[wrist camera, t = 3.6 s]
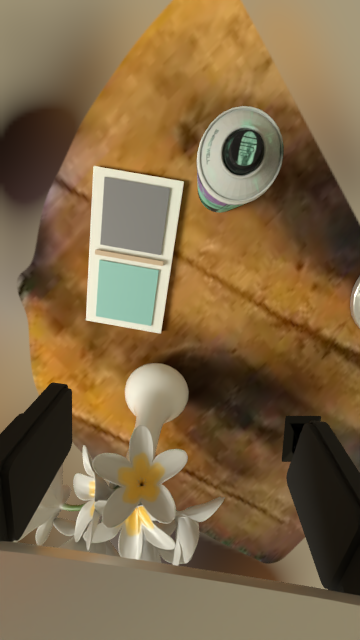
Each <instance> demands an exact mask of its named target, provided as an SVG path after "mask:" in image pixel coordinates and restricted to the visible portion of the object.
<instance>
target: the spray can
mask: <svg viewBox="0 0 360 640" xmlns="http://www.w3.org/2000/svg"><path fill="white" fill-rule="evenodd" d="M282 160H283V140H282V136H281V133H280V130H279V128H278V126H277V125H276V123H275V122H274V120H273V119H272V118H271V117H270V116H269V115H268V114H266V113H265V112H263V111H262V110H260V109H257V108H254V107H247V106H241V107H235V108H232V109H229V110H227V111H225V112H224V113H222V114H220V115H219V116H218V117H217V118H216V119H215V120H214V121H213V122H212V123H211V124H210V125H209V127H208V128H207V130H206V131H205V133H204V135H203V137H202V139H201V141H200V145H199V148H198V154H197V178H198V194H199V198H200V200H201V202H202V203H203V205H204V206H205V207H206V208H207V209H209V210H211V211H214V212H226V211H228V210H231V209H233V208H236V207H238V206H241V205H243V204H246V203H248V202H251V201H253V200H255V199H256V198H258V197H260V196H261V195H262V194H263V193H265V192H266V191H267V190H268V188H269V187H270V186H271V185H272V183H273V182H274V180H275V179H276V177H277V175H278V173H279V170H280V168H281V165H282Z"/></svg>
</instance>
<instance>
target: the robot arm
mask: <svg viewBox="0 0 360 640" xmlns="http://www.w3.org/2000/svg"><path fill="white" fill-rule="evenodd" d="M359 290H360V277H359V278H358V280H357V281H356V283H355V285H354V288H353V290H352V294H351V298H350V309H351V314H352V317H353V319H354V322H355V323H356V325H357V326H358V327H359V328H360V291H359ZM71 444H72V390H71V389H68V386H67V385H66V384H59V383H51V384H50V385H49V386H48V387H47V388H46V389H45V390H44V391H43V392H42V393H41V395H40V396H39V397H38V398H37V399H36V400H35V401H34V402H33V403H32V404H31V406H30V407H29V408H28V409H27V410H26V411H25V412H24V413H22V414H19V415H18V416H17V417H16V418H15V419H14V420H13V421H12V422H11V423H10V424H9V425H8V426H7V427H6V429H5V430H4V431H3V432H2V433H1V434H0V640H360V473H359V471H358V470H357V468H356V467H355V465H354V464H353V462H352V461H351V459H350V457H349V456H348V454H347V453H346V451H345V450H344V448H343V447H342V445H341V443H340V442H339V440H338V439H337V437H336V436H335V434H334V433H333V431H332V430H331V428H330V426H329V425H328V424H327V423H326V422H320V421H313V420H310V421H309V422H308V423H305V424H304V426H303V429H302V432H301V434H300V437H299V440H298V443H297V446H296V449H295V452H294V455H293V458H292V461H291V463H290V466H289V469H288V472H287V484H288V487H289V490H290V493H291V496H292V499H293V502H294V505H295V507H296V510H297V513H298V516H299V519H300V522H301V525H302V528H303V531H304V534H305V537H306V540H307V542H308V545H309V548H310V551H311V554H312V557H313V560H314V563H315V566H316V569H317V572H318V575H319V577H320V580H321V583H322V585H323V586H324V588H327V589H328V590H325V589H320V588H314V587H309V586H303V585H296V584H290V583H284V582H277V581H271V580H265V579H259V578H252V577H247V576H240V575H234V574H228V573H222V572H214V571H208V570H202V569H196V568H189V567H182V566H176V565H169V564H163V563H157V562H150V561H144V560H137V559H131V558H124V557H117V556H110V555H103V554H97V553H90V552H83V551H76V550H70V549H63V548H55V547H47V546H40V545H32V544H24V543H16V542H13V541H14V540H15V541H18V540H19V539H20V538H21V536H22V535H23V533H24V531H25V530H26V528H27V526H28V524H29V522H30V521H31V519H32V517H33V515H34V513H35V512H36V510H37V508H38V506H39V505H40V503H41V501H42V499H43V497H44V496H45V494H46V492H47V490H48V489H49V487H50V485H51V483H52V481H53V480H54V478H55V476H56V474H57V472H58V471H59V469H60V467H61V465H62V464H63V462H64V460H65V458H66V456H67V455H68V453H69V451H70V448H71Z"/></svg>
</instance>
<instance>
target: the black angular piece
mask: <svg viewBox="0 0 360 640" xmlns="http://www.w3.org/2000/svg"><path fill="white" fill-rule="evenodd" d="M310 420H313V421H320V420H321V416H286V419H285V430H284V441H283V453H282V461H283V462H291V461H292V458H293V455H294V452H295V449H296V446H297V443H298V440H299V437H300V434H301V432H302V429H303V426H304V424H305V423H308V422H309V421H310Z"/></svg>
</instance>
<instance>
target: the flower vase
mask: <svg viewBox="0 0 360 640" xmlns="http://www.w3.org/2000/svg"><path fill="white" fill-rule="evenodd" d="M188 394H189V390H188V386H187V383H186V381H185V379H184V377H183V376H182V375H181V374H180V373H179V372H178V371H177V370H176V369H174V368H172V367H171V366H168V365H165V364H161V363H151V364H146V365H143V366H141V367H139V368H137V369H136V370H135V371H134V372H133V373H132V374H131V375H130V377H129V378H128V380H127V383H126V386H125V399H126V402H127V405H128V407H129V409H130V410H131V411H132V413H133V414H134V415H135V416H136V423H135V428H134V431H133V433H132V436H131V439H130V444H129V450H128V453H127V455H126V457H123V456H121V455H118V454H114V453H103V454H100V455H98V456H96V457H95V458H94V460H93V461H92V459H91V456H90V454H89V452H88V450H87V448H86V446H85V445H84V446H83V463H84V467H85V470H86V472H87V474H89V475H90V476H92V477H90V476H86V475H83V474H80V473H77V474H76V475H75V476H74V481H73V486H74V491H75V493H76V495H77V496H78V498H80V499H81V500H91V501H89V502H88V503H85V504H82V505H69V504H66V501H67V500H68V498H69V496H70V492H71V489H70V487H69V486H68V485H63V480H62V473H63V464H62V465H61V467H60V469H59V471H58V472H57V474H56V476H55V478H54V480H53V481H52V483H51V486H50V487H49V489H48V490H47V492H46V494H45V496H44V497H43V499H42V501H41V503H40V505H39V506H38V508H37V510H36V512H35V513H34V515H33V517H32V519H31V521H30V522H29V524H28V526H27V528H26V530H25V531H24V533H23V535H22V536H21V538H20V539H19V540H21V539H22V538H23V537H25V536H26V535H27V534H28V533H30V532H31V531H32V530H34V529H35V528H37V527H38V529H37V532H36V543H37V544H38V545H42V544H43V543H44V542H45V541H46V539H47V537H48V535H49V533H50V531H51V528H52V526H53V524H54V526H55V527H56V529H57V530H58V531H59V532H61V533H62V534H64V535H67V536H72V535H74V537H73V538H71V539H70V540H69V541H67V542H66V543H64V544H63V545H62V546H60V547H59V548H63V549H70V550H76V551H83V552H89V551H90V553H97V554H103V555H110V556H117V557H124V558H131V559H137V560H144V561H150V562H157V563H161V559H160V555H161V556H162V557H163V559H164V560H166V561H167V562H170V563H173V565H176V566H178V565H179V564H183V563H187V562H188V561H190V560H191V559H192V555H193V553H194V550H195V548H196V546H197V543H198V539H199V524H198V522H202V521H205V520H206V519H208V518H209V517H210V516H212V514H213V513H214V512H215V511H216V510H217V509H218V507H219V506H220V505H221V504H222V502H223V501H224V498H225V497H222V498H221V497H218V498H216V499H214V500H212V501H209V502H207V503H204V504H200V505H196V506H192V507H189V508H187V509H186V510H183V511H177V510H176V506H175V502H174V500H173V497H172V495H171V494H170V492H169V491H168V489H167V488H166V487H165V486H164V485H161V483H163V482H164V481H166V480H168V479H170V478H171V477H173V476H174V475H176V474H177V473H178V472H179V471H180V470H182V468H183V467H184V466H185V464H186V463H187V460H188V456H187V454H186V452H185V451H184V450H181V449H171V450H167V451H165V452H163V453H161V454H159V455H158V456H156V458H155V454H156V449H157V444H158V440H159V436H160V432H161V429H162V426H163V424H164V423H166V422H169V421H171V420H173V419H175V418H176V417H177V416H179V415H180V414H181V412H182V411H183V410H184V408H185V406H186V404H187V401H188ZM104 479H105V480H107V481H109V482H110V484H109V486H108V485H107V483H106V482H105V480H104ZM108 498H109V499H108ZM62 509H64V510H68V511H80V513H79V515H78V518H77V521H73V520H68V519H63V518H57V516H58V515H59V512H60V511H61V510H62ZM101 515H102V520H101V521H100V523H98V520H99V518H100V516H101ZM174 519H175V520H174ZM155 520H157V521H159V522H160V523H159V524H157V523H156V522H155ZM197 521H198V522H197ZM175 527H176V539H175V540H173V539H172V538H171V537H170V535H171V534H172V533H173V531H174V530H175ZM120 529H121V532H120V536H119V542H118V547H119V553H120V555H119V553H118V552H117V550H116V549H115V548H114V546H113V545H112V543H111V542H110V539H112V538H113V537H115V536H116V535H117V533H118V532H119V531H120ZM19 540H18V541H19ZM13 542H17V541H15V540H14V541H13ZM159 553H160V555H159Z"/></svg>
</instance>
